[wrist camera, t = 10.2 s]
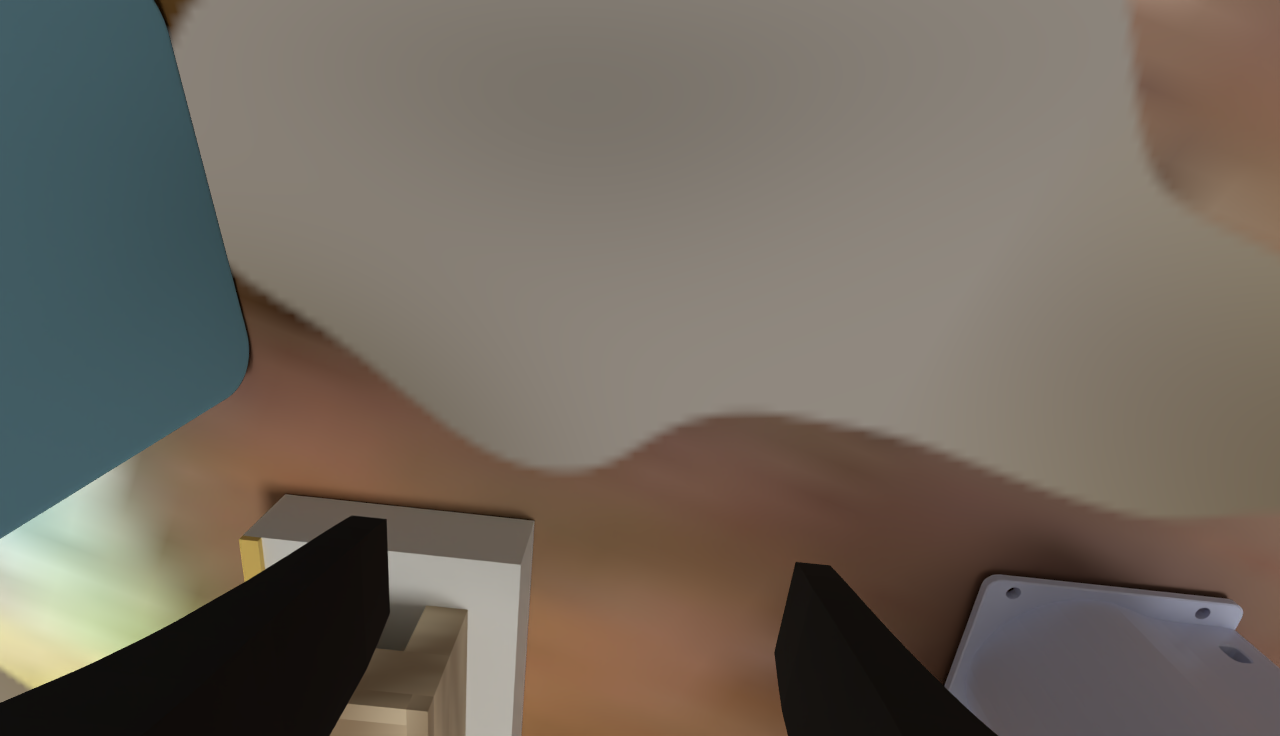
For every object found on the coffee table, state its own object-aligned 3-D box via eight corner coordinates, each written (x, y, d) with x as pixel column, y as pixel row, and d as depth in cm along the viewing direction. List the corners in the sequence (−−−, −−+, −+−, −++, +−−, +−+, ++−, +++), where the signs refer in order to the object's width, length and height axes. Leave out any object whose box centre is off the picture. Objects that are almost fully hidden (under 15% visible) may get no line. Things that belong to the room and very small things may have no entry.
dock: (534, 520, 23) (519, 568, 20) (518, 790, 28) (504, 856, 25) (285, 494, 23) (238, 539, 20) (312, 770, 28) (277, 834, 25)
